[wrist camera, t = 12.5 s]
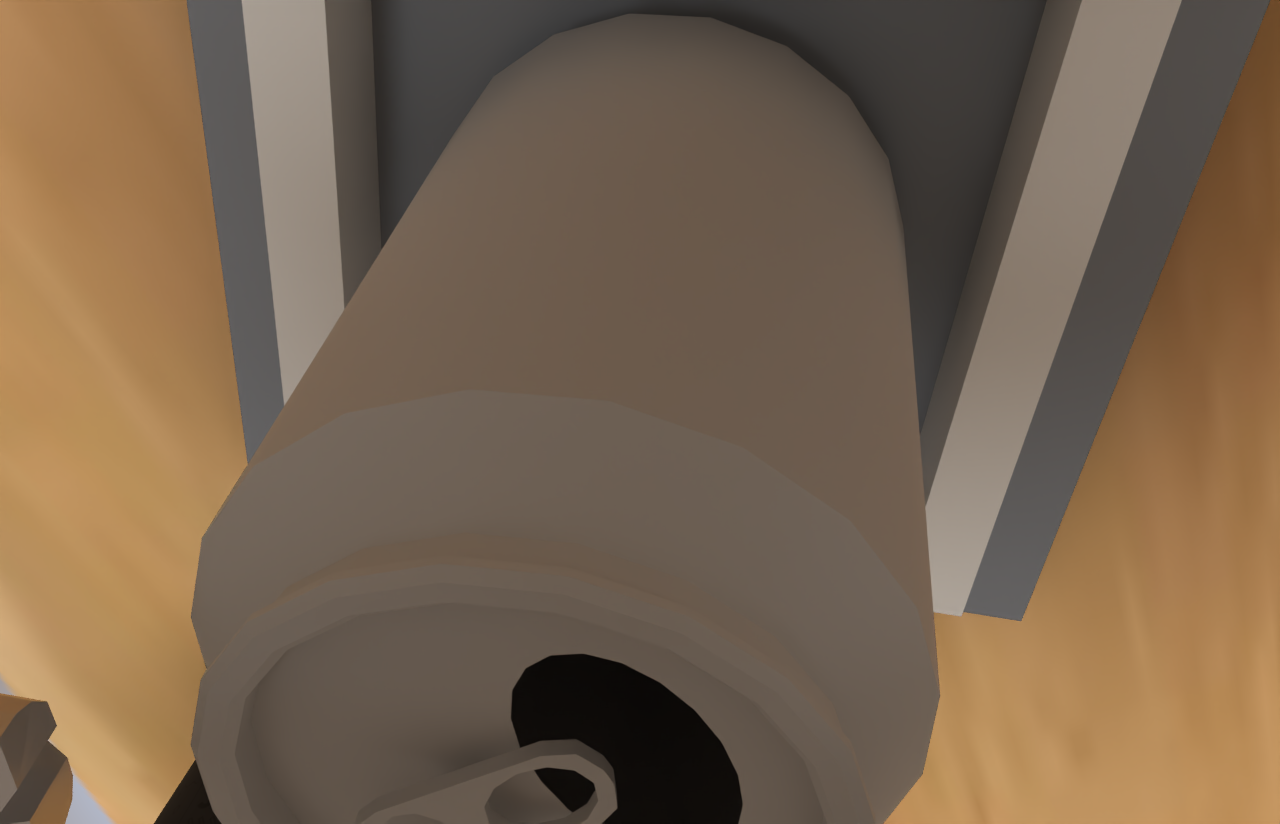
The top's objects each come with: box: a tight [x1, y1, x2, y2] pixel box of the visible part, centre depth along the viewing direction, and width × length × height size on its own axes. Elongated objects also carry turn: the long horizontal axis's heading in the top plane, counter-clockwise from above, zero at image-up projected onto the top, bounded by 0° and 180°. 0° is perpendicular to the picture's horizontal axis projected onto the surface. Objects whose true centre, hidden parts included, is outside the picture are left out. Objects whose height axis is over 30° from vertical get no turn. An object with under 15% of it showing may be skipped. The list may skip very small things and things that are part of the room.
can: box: [191, 14, 940, 824], centre depth 16 cm, size 8×8×12 cm
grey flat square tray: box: [187, 0, 1270, 621], centre depth 20 cm, size 16×16×3 cm
